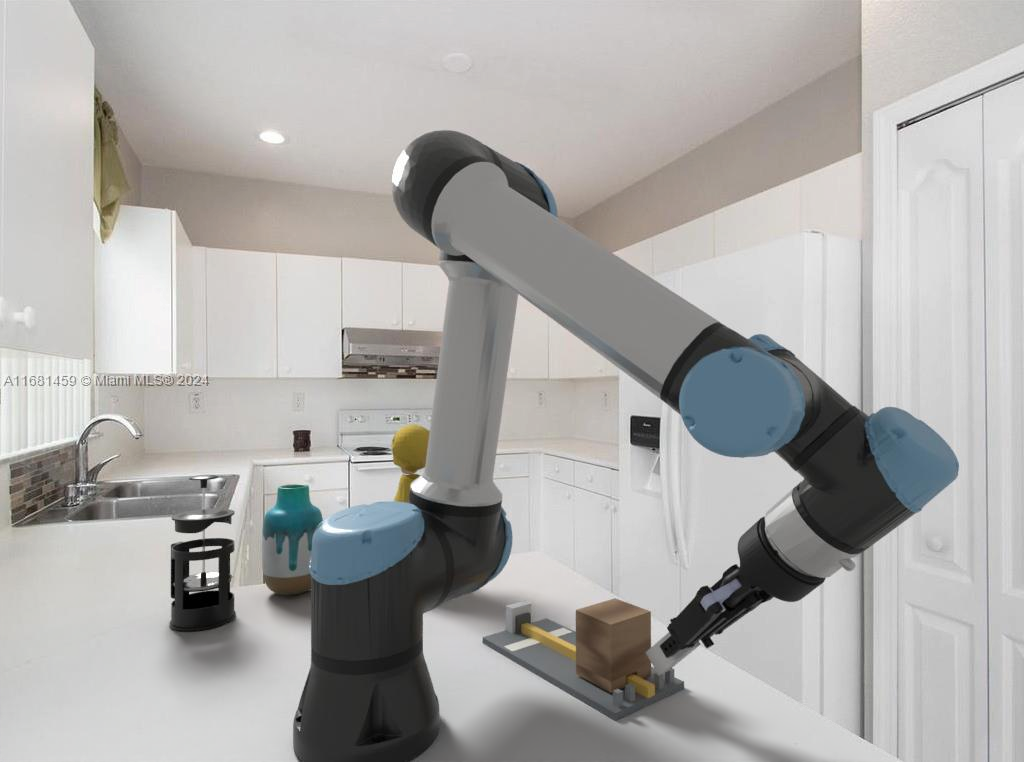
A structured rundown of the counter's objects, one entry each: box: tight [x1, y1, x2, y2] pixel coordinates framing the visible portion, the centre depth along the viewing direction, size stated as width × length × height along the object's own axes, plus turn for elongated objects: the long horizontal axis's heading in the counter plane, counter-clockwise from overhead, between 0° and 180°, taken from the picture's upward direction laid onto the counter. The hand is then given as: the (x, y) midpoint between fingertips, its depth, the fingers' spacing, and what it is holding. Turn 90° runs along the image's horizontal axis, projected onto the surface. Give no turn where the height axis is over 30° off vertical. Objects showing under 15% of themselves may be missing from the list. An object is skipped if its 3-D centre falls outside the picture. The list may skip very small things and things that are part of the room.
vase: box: [261, 483, 324, 596], centre depth 111 cm, size 11×11×19 cm
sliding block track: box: [482, 600, 685, 721], centre depth 81 cm, size 26×12×4 cm, turn 37°
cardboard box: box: [575, 597, 652, 693], centre depth 76 cm, size 6×7×8 cm
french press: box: [169, 474, 237, 633], centre depth 97 cm, size 12×9×23 cm
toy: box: [390, 424, 430, 503], centre depth 115 cm, size 16×12×30 cm
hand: (656, 661), depth 70 cm, fingers closed
